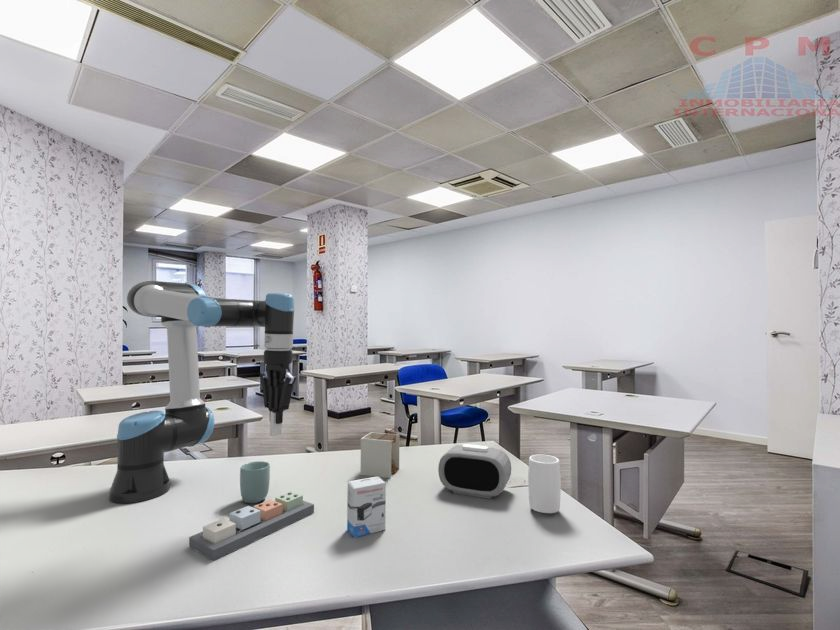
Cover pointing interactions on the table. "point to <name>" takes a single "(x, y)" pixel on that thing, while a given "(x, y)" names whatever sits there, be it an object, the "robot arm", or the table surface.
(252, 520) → the tile
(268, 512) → the tile
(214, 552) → the board
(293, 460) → the table surface
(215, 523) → the tile
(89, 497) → the table surface
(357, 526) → the ink box
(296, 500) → the tile
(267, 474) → the cup
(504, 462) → the alarm clock
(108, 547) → the table surface
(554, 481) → the cup
